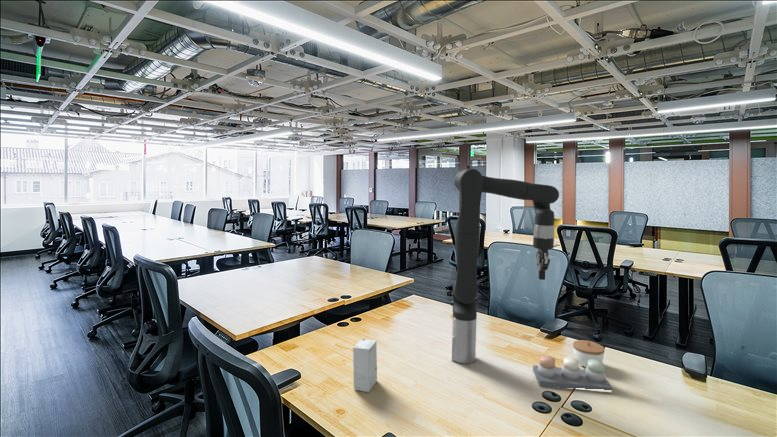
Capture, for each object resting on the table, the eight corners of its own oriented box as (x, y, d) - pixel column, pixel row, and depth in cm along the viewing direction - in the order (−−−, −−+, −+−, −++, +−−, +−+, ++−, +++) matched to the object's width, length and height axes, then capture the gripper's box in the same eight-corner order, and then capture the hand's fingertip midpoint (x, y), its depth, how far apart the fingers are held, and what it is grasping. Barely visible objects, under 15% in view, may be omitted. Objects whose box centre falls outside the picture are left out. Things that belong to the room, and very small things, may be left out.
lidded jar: (568, 357, 148) (569, 334, 147) (597, 360, 146) (598, 337, 145) (576, 370, 137) (577, 346, 136) (607, 373, 135) (609, 349, 134)
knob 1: (541, 367, 128) (541, 361, 128) (538, 361, 133) (538, 354, 133) (556, 369, 128) (556, 362, 127) (552, 362, 133) (553, 356, 132)
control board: (539, 386, 126) (540, 372, 126) (532, 370, 137) (533, 357, 137) (612, 393, 122) (613, 379, 122) (599, 376, 133) (600, 363, 132)
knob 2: (590, 372, 126) (590, 365, 125) (585, 365, 131) (585, 358, 130) (606, 373, 125) (606, 367, 125) (600, 366, 130) (600, 360, 129)
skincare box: (369, 393, 122) (369, 350, 120) (352, 389, 123) (352, 347, 122) (377, 380, 130) (377, 339, 128) (361, 377, 131) (361, 337, 130)
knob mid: (565, 370, 127) (565, 363, 127) (561, 363, 132) (561, 356, 132) (581, 371, 126) (581, 364, 126) (576, 364, 131) (576, 358, 131)
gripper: (530, 233, 151) (528, 274, 153) (537, 238, 138) (535, 283, 140) (549, 234, 150) (547, 275, 151) (558, 239, 137) (556, 284, 138)
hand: (541, 279), depth 145 cm, fingers closed
